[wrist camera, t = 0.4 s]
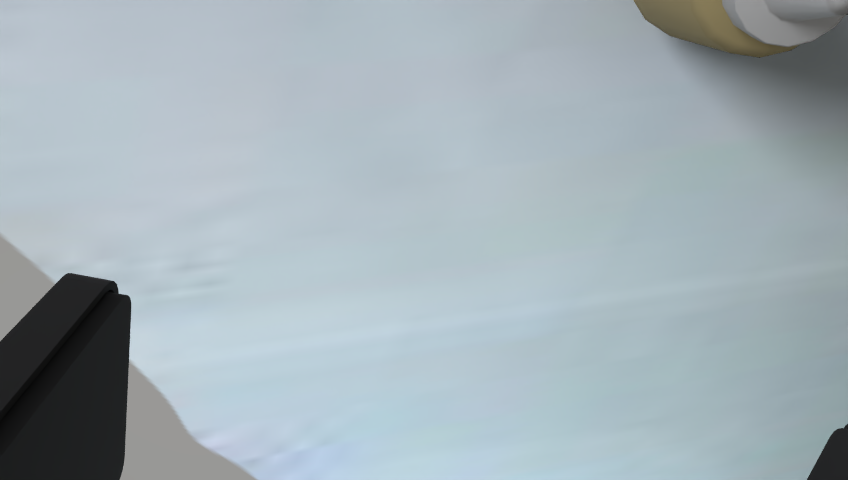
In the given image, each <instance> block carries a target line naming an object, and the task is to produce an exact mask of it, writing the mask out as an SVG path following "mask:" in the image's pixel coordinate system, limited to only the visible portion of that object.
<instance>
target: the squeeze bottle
mask: <svg viewBox="0 0 848 480" xmlns="http://www.w3.org/2000/svg"><path fill="white" fill-rule="evenodd" d="M634 2H635V3H636V5H637V7H638V8H639V10H640V12H641V13H642V15H643V17H644V18H645V20H647V21H648V22H650V23H651V24H653V25H654V26H656V27H657V28H659V29H660V30H662V31H663V32H665V33H666V34H668V35H669V36H672V37H676V38H679V39H683V40H686V41H690V42H693V43H697V44H700V45H704V46H707V47H711V48H714V49H718V50H722V51H725V52H729V53H734V54H740V55H747V56H753V57H759V58H760V57H764V56H769V55H773V54H777V53H782V52H786V51H790V50H792V49H794V48H795V47H797V46H799V45H800V44H804V43H808V42H812V41H814V40H816V39H817V38H819V37H820V36H822V35H823V34H825V33H827V32H828V31H830V30H831V29H833V28H834V27H836V25H837V24H838V23H839V22H840V20H841V19H842V18H843V17H844V16H845V15H847V14H848V0H634Z"/></svg>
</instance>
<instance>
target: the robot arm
mask: <svg viewBox="0 0 848 480" xmlns="http://www.w3.org/2000/svg"><path fill="white" fill-rule="evenodd" d="M130 322H131V300H130V297H129V296H128V295H122V294H118V287H117V284H116V283H115V282H114V281H110V280H105V279H99V278H94V277H89V276H83V275H78V274H72V273H67V274H66V275H64V276H63V277H62V278H61V279H60V280H59V281H58V282H57V283H56V284H55V285H54V286H53V287H52V288H51V289H50V290H49V291H48V293H46V295H45V296H44V297H43V298H42V299H41V300H40V301H39V302H38V303H37V304H36V305H35V306H34V307H33V308H32V309H31V310H30V311H29V312H28V313H27V314H26V315H25V317H23V318H22V319H21V321H20V322H19V323H18V324H17V325H16V326H15V327H14V328H13V329H12V330H11V331H10V332H9V333H8V334H7V335H6V336H5V337H4V338H3V339H2V340H1V341H0V480H119V479H120V477H121V473H122V470H123V465H124V456H125V434H126V433H125V432H126V412H127V411H126V410H127V389H128V367H129V344H130ZM807 480H848V424H847V425H846V426H845V427H844V428H841V429H837V430H836V431H834V432H833V434H832V435H831V436H830V438H829V440H828V442H827V444H826V445H825V447H824V449H823V451H822V453H821V455H820V456H819V458H818V460H817V462H816V464H815V466H814V468H813V469H812V471H811V473H810V475H809V477H808V479H807Z"/></svg>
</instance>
